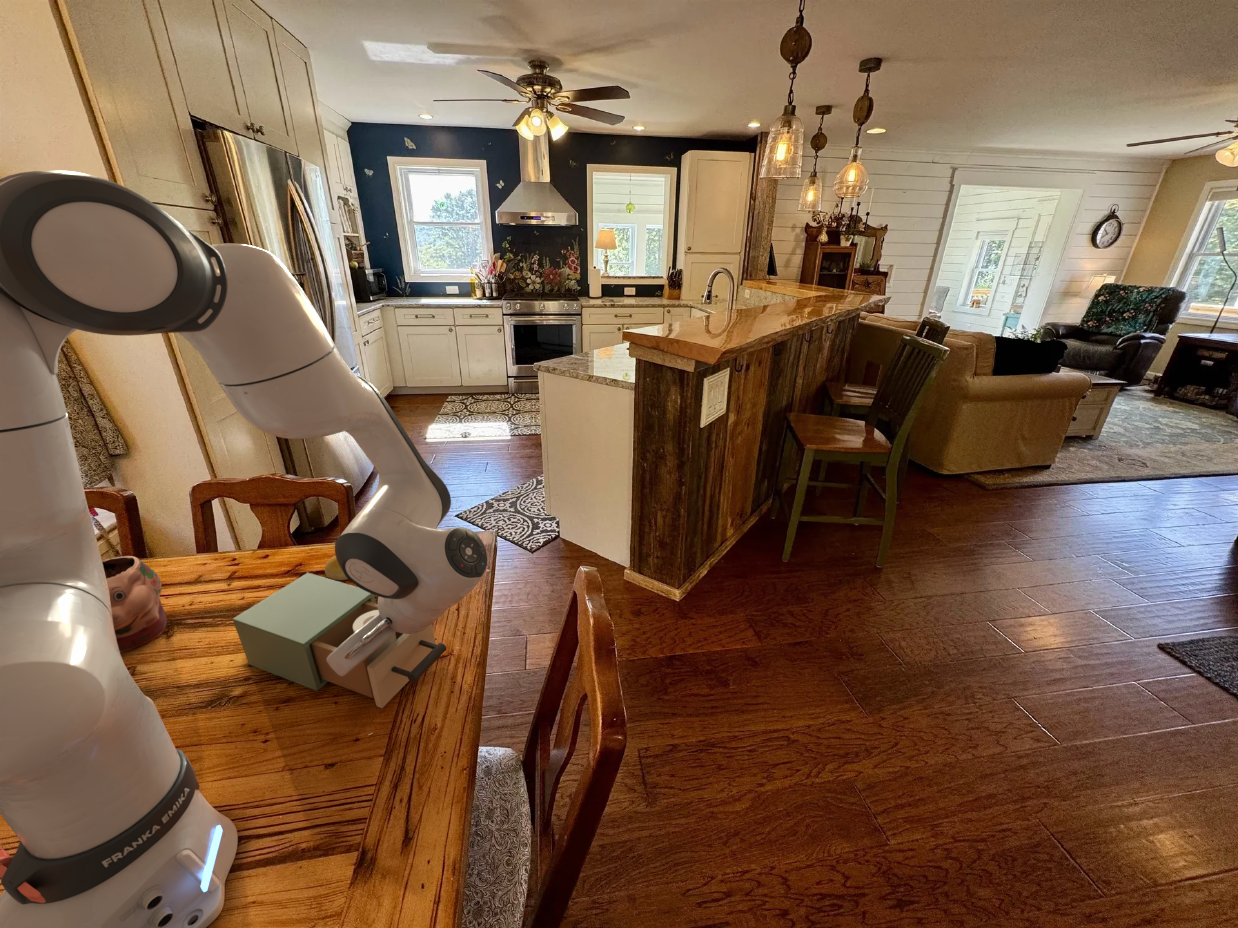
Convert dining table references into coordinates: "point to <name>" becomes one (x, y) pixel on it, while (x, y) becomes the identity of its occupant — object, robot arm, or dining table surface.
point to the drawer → (377, 659)
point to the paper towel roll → (362, 621)
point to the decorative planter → (134, 601)
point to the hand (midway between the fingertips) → (372, 635)
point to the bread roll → (334, 569)
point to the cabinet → (296, 625)
